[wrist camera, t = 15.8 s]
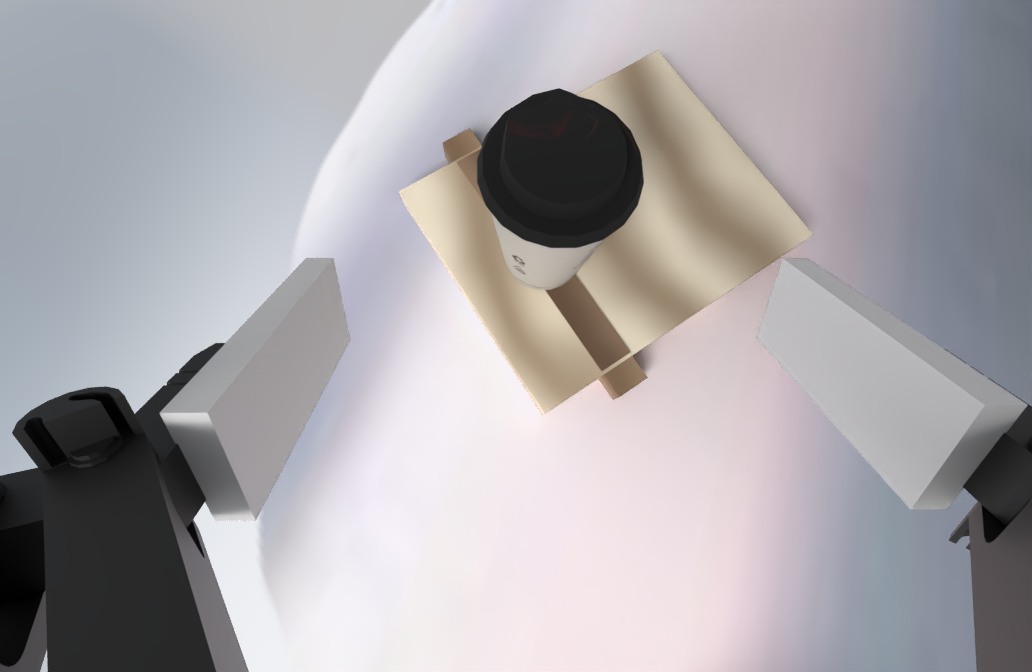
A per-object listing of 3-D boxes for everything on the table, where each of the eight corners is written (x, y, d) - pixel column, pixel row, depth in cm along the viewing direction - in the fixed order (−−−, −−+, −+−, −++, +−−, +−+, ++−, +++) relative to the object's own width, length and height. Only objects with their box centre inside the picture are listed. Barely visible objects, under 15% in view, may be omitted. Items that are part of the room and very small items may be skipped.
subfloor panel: (638, 52, 33) (645, 32, 31) (813, 263, 29) (831, 252, 28) (392, 186, 30) (386, 171, 28) (556, 437, 26) (560, 437, 25)
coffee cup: (622, 277, 27) (690, 183, 17) (518, 330, 26) (528, 262, 16) (564, 182, 28) (597, 46, 19) (463, 229, 27) (442, 112, 18)
